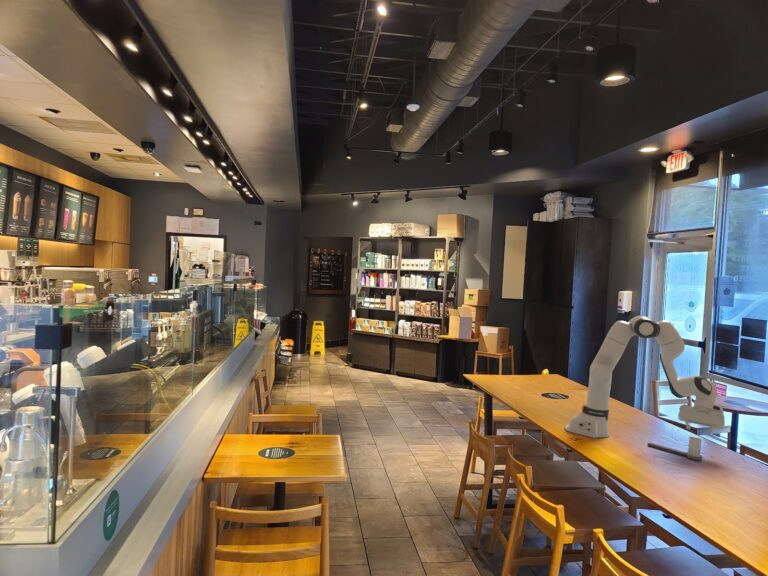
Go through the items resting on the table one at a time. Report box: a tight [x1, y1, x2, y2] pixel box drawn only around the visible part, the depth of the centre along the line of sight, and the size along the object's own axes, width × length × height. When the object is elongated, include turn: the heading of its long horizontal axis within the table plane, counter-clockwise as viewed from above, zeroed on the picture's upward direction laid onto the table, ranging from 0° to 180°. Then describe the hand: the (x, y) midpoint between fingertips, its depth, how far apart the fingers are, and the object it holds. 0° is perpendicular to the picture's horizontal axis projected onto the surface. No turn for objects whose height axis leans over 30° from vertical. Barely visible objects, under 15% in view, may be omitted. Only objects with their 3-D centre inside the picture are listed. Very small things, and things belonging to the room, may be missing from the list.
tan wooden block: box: [687, 436, 702, 457], centre depth 255 cm, size 5×5×8 cm
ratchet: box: [647, 442, 703, 462], centre depth 262 cm, size 25×7×5 cm, turn 42°
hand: (698, 431), depth 262 cm, fingers open, 8 cm apart
